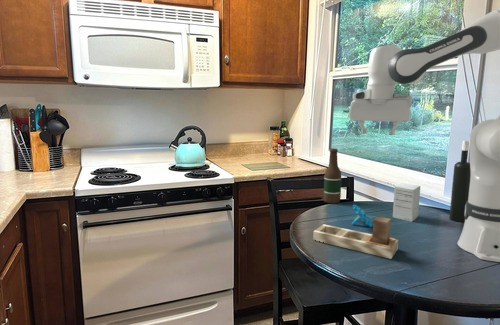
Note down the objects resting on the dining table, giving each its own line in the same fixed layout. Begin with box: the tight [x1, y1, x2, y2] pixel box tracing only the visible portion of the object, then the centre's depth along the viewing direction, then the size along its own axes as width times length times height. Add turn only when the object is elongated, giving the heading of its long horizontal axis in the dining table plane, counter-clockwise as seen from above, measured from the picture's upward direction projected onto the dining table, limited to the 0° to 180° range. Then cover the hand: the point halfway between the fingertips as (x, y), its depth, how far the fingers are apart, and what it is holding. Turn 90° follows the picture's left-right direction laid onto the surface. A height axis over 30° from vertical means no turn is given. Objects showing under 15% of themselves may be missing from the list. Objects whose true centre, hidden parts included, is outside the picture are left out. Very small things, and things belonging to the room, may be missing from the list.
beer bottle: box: [323, 148, 342, 204], centre depth 154 cm, size 8×8×24 cm
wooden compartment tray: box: [312, 223, 399, 260], centre depth 109 cm, size 24×8×3 cm, turn 55°
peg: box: [372, 216, 392, 245], centre depth 104 cm, size 4×4×10 cm
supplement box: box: [392, 182, 421, 223], centre depth 133 cm, size 7×7×13 cm
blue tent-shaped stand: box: [351, 204, 373, 228], centre depth 126 cm, size 11×6×10 cm
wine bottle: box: [449, 140, 471, 223], centre depth 128 cm, size 6×6×30 cm
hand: (377, 134), depth 121 cm, fingers open, 8 cm apart
